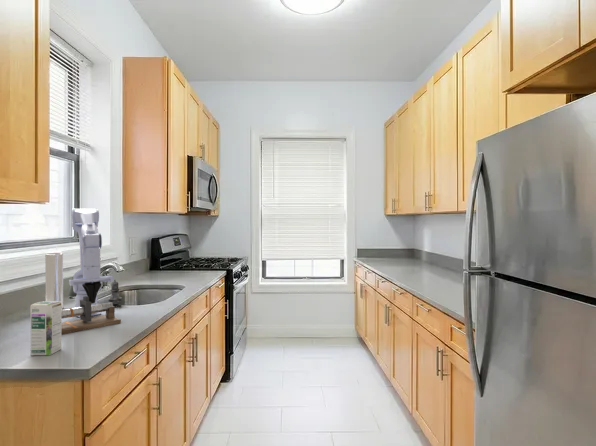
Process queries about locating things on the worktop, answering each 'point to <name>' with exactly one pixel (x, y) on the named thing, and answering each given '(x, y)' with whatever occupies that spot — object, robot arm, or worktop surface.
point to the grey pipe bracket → (86, 309)
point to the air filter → (54, 277)
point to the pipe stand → (95, 321)
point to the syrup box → (45, 328)
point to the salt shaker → (115, 294)
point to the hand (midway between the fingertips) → (92, 302)
